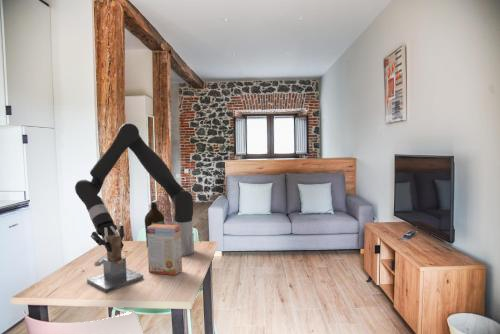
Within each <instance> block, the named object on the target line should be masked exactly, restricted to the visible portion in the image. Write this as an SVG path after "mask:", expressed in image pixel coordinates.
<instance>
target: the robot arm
mask: <svg viewBox="0 0 500 334" xmlns="http://www.w3.org/2000/svg"><path fill="white" fill-rule="evenodd" d="M128 148H129V150H130V151H132V153H133V154H134V155H135V157H136V158H137V160H139V162H140V164H141V165H142V166H143V168H144V169H145V170H146V172H147V173H148V174H149V176H150V177H151V178H153V179H154V181H155V182H156V183H157V184H158V185H160V187H162V189H164V190H165V192H166V193H167V195H168V196H169V198H170V199H171V200H172V203H173V204H174V210H175V211H174V212H175V213H174V216H173V222H174V224H173V225H179V226H181V253H182V257H184V256H185V257H186V256H190V255H193V254H194V251H195V236H194V234H195V233H193V232H194V231H193V230H194V228H193V217H194V198H193V195H192V193H191V192H189V191H188V190H186V189H184V188H183V187H182V185H181V184H179V183H178V180H176V179H175V178H174V175H173V173H172V171H171V170H170V169H169V167H168V165H167V164H166V163H165V161H164V160H163V159H162V158H161V157H160V155H158V153H156V152H155V151H154V150H153V149H151V147H150V146H148V145H147V144H146V142H145V141H144V140H143V138H142V137H141V135H140V130H139V128H138V127H137V126H136V125H135V124H133V123H123V124H122V125H121V126H120V127H119V128H118V129H117V135H116V136H115V138H114V140H113V142H112V143H111V145H110V146H109V147H108V149H107V150H106V151H105V152H104V153H103V154H102V156H100V158H99V159H98V160H97V162H96V163H95V164H94V165H93V167H92V169H91V170H90V172H89V174H90V176H91V177H92V178H91V180H87V179H80V180H78V181H77V182H76V183H75V186H74V190H75V191H74V192H75V194H76V195H77V196H78V198H79V199H80V201H81V202H82V203H83V204H84V205H85V207H86V210H87V212H88V215H89V218H90V220H91V222H92V225H93V227H94V229H95V231H92V233H90V234H91V235H90V238H92V240H94V242H95V243H96V244H97V245H98V246H104V248H105V250H106V252H107V251H108V252H109V253H110V252H112V247H111V245H110V243H109V242H108V239H107V236H109V235H113V234H117V235H120V238H121V250H123V249H124V242H123V241H122V240H123V239H124V237H125V228H124V225H120V226H117V225H116V224H115V223H114V222H115V221H114V219H113V218H112V215H111V213H110V212H109V210H108V208H107V207H106V205H105V203H104V201H103V199H102V198H101V197H100V196H99V194H100V191H102V190H101V189H102V187H103V185H104V183H105V179H107V177H108V175H109V174H110V172H111V171H112V170H113V168H114V167H115V166H116V164H117V162H118V160H119V159H120V158H121V156H122V155H123V154H124V152H125V151H126V150H127V149H128Z"/></svg>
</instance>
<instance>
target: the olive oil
mask: <svg viewBox="0 0 500 334" xmlns="http://www.w3.org/2000/svg"><path fill="white" fill-rule="evenodd" d="M153 224H163V225H165V215H164V214H163V213H162V212H161V211H160V210H159V209H158V202H157V201H151V202H150V209H149V211H148V212H147V213H146V215H144V228H145V230H144V231H145V239H146V248H148V239H147V227H148V226H150V225H153Z"/></svg>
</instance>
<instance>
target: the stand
mask: <svg viewBox="0 0 500 334" xmlns="http://www.w3.org/2000/svg"><path fill="white" fill-rule="evenodd" d="M102 263H103V265H102V266H103V273H100V274H98V275H94V276H91V277H88V278H86V283H88V284H89V285H91V286H93V287H95V288H96V289H98V290H101V291H102V292H104V293H106V294H107V293H110V292H112V291H115V290H118V289H120V288H123V287H126V286H128V285H130V284H133V283H136V282H138V281H141V280H143V279H144V275H143V274H141V273H139V272H137V271H135V270H132V269H129V268H127V259H126V257H125V256H122V255H121V259H118V260H114V261H110V260H107V258H105V259H103V262H102Z"/></svg>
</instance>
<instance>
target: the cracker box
mask: <svg viewBox="0 0 500 334" xmlns="http://www.w3.org/2000/svg"><path fill="white" fill-rule="evenodd" d="M147 239H148V247H147V257H148V259H147V260H148V261H147V262H148V272H149V273H153V274H163V275H170V276H176V275H178V274H179V273H181V272H182V271H183V256H182V253H181V226H179V225H175V224H164V225H163V224H153V225H150V226H148V227H147Z"/></svg>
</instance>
